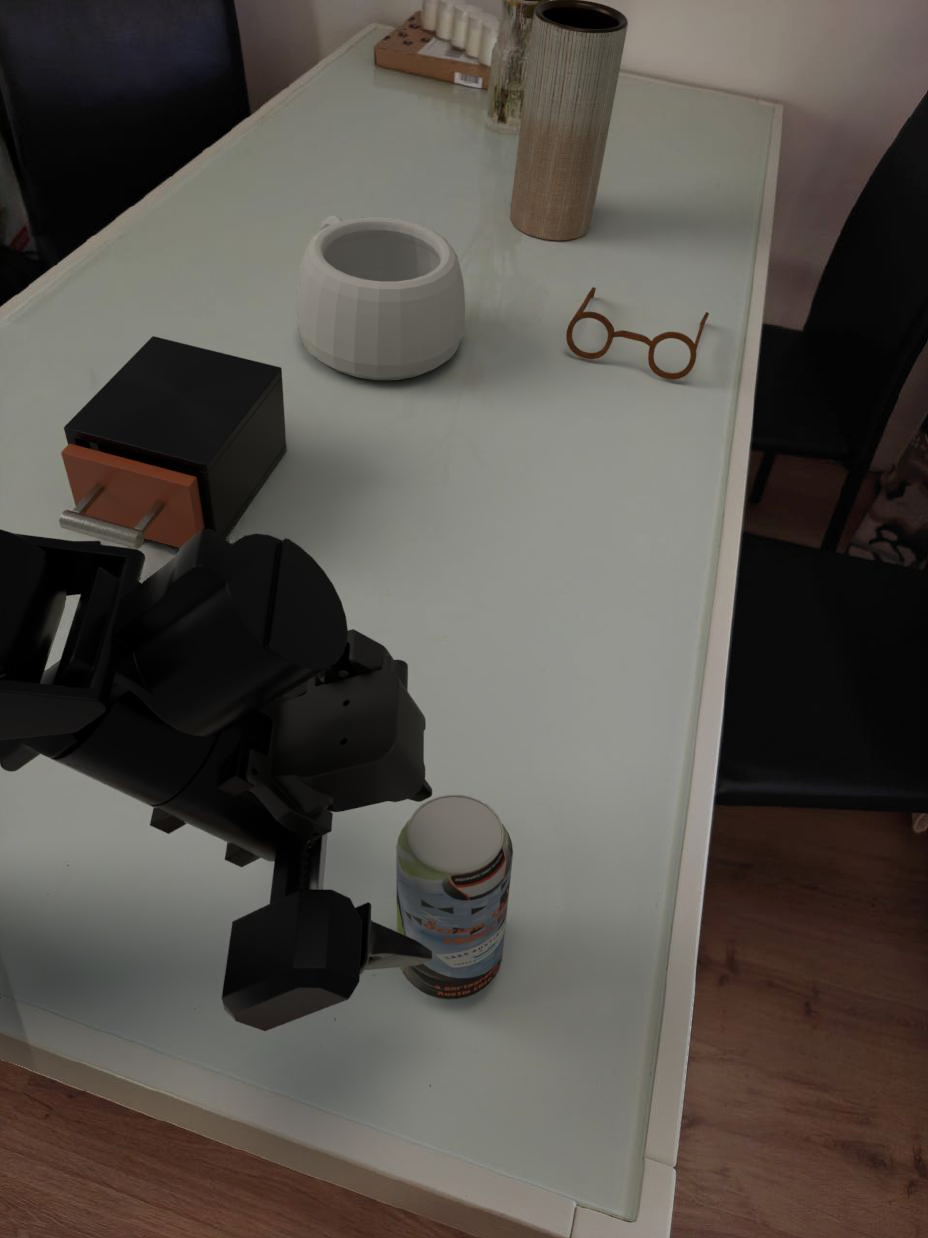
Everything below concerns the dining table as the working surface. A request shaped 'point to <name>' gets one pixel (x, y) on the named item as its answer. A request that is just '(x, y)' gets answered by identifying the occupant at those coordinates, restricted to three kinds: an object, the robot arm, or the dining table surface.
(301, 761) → the robot arm
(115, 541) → the drawer with bar handle
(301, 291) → the mug
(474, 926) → the beverage can
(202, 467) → the small drawer box
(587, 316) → the glasses
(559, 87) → the tall ribbed vase
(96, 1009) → the dining table surface
